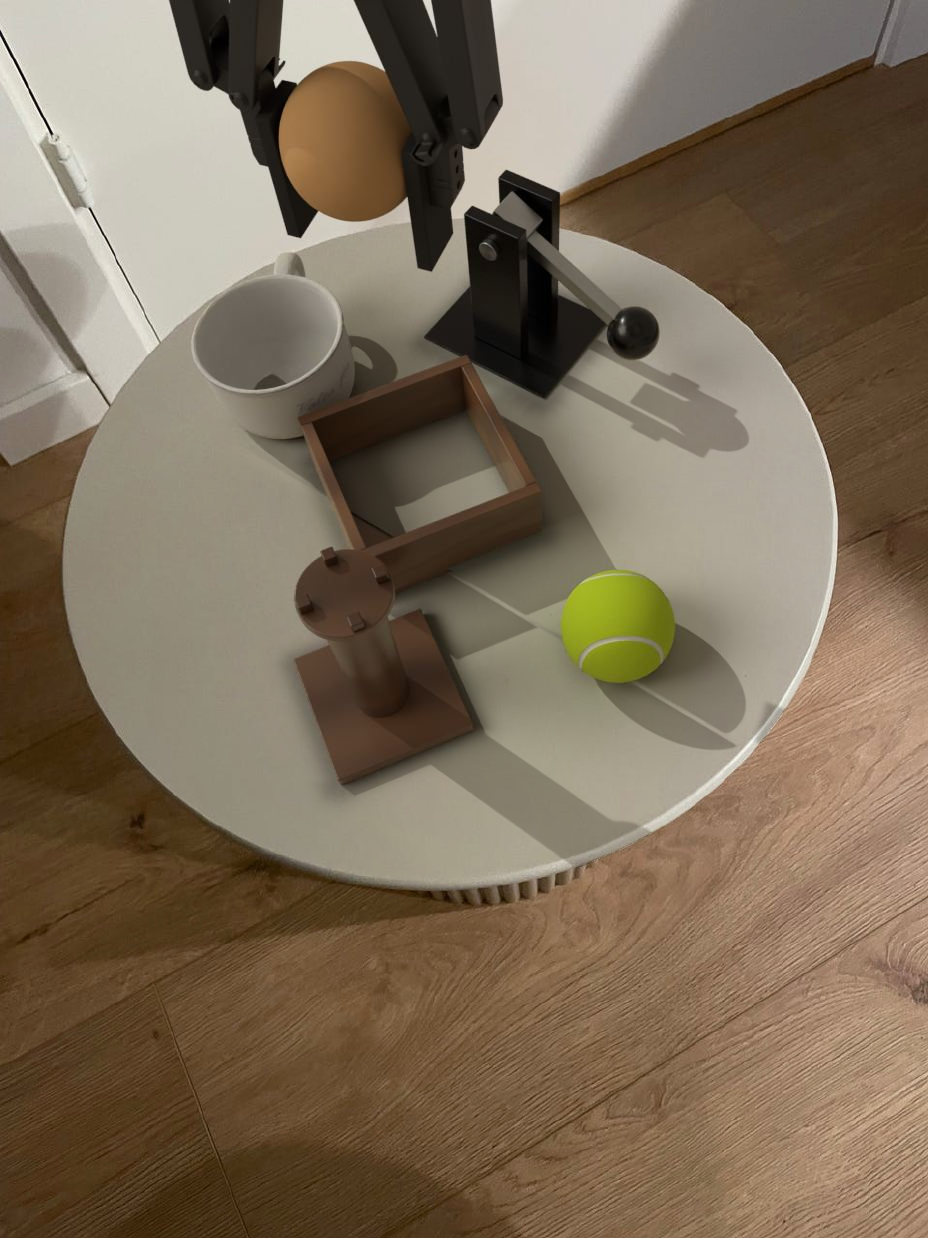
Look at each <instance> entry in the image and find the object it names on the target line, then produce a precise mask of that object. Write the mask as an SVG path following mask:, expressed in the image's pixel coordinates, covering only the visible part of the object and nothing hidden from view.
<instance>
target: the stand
mask: <svg viewBox="0 0 928 1238" xmlns="http://www.w3.org/2000/svg"><path fill="white" fill-rule="evenodd" d="M320 555H321V556H318V557H317V558H316V559H314V560H313V561H311V562H310V563H309V564H308V565H307V566H306V567H305V569H304V570H303V571H302V573H301V574H300V576H299V577H298V580H297V581H296V583H295V584H296V585H295V588H294V594H293V598H294V599H293V601H294V607H295V610H296V613H297V615H298V618H299V620H300V621H301V623H302V624H303V626H304V627H305V628H306V629H307V630H308V631H309V632H311V633H312V634H313V635H314V636H316V637H318V638H321V639H323V640H326V641H327V644H328V645H326V646H323V647H321V648H320V647H319V648H318V649H315V650H313V651H310V652H308V653H306V654H303V655H300V656H298V657H295V658H293V664H294V666H295V669H296V671H297V674H298V677H299V679H300V682H301V684H302V688H303V690H304V694H305V695H306V698H307V701H308V704H309V707H310V709H311V712H312V714H313V717H314V721H315V723H316V725H317V729H318V731H319V734H320V736H321V738H322V742H323V745H324V748H325V750H326V753H327V755H328V759H329V761H330V764H331V767H332V769H333V771H334V774H335V777H336V781H337V782H338V784H339V785H340V786H343V785H345V784H347V783H350V782H353V781H355V780H358V779H360V778H362V777H364V776H367V775H369V774H372V773H374V772H377V771H380V770H381V769H384V768H386V767H389V766H391V765H394V764H397V763H398V762H401V761H403V760H405V759H408V758H410V757H412V756H415V755H418V754H420V753H422V752H425V751H427V750H429V749H432V748H434V747H437V746H440V745H441V744H444V743H446V742H449V741H451V740H453V739H456V738H458V737H461V736H463V735H466V734H468V733H471V732H473V731H474V730H475V729H474V724H473V722H472V720H471V717H470V715H469V713H468V710H467V708H466V705H465V704H464V701H463V699H462V697H461V695H460V692H459V690H458V688H457V686H456V683H455V681H454V679H453V677H452V675H451V672H450V670H449V668H448V666H447V663H446V661H445V659H444V657H443V655H442V652H441V650H440V648H439V646H438V643H437V641H436V639H435V637H434V635H433V632H432V630H431V628H430V625H429V623H428V621H427V618H426V617H425V613H424V612H423V610H422V609H421V608H419V609H416V610H414V611H410V612H408V613H406V614H403V615H400V616H397V617H395V618H393V619H391V620H389V616H390V615H391V612H392V609H393V607H394V604H395V599H396V594H395V589H394V584H393V580H392V577H391V574H390V572H389V570H388V569H387V567H386V566H385V565H384V564H383V563H382V562H381V561H380V560H379V559H378V558H376V557H375V556H373V555H371V554H369V553H367V552H364V551H360V550H354V549H349V548H344V549H337V550H335V549H334V547H333V546H328V547H327V548H324V549H321V550H320Z"/></svg>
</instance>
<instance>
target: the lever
mask: <svg viewBox="0 0 928 1238" xmlns="http://www.w3.org/2000/svg"><path fill="white" fill-rule="evenodd" d="M491 214H493V215H495V216H497V217H499V218H501V219H504V220H506V221H508V222H510V223H513V224H515V225H517V226H519V227H522V228H524V229H526V232H527V253H528V254H529V255H531V256H532V257H533V258H534V259H535V260H536V261H537V262H538V263H539V264H540V265H542V266H543V267H544V268H545V269H546V270H547V271H548V272H549V273H550V274H552V275H553V276H554V277H555V278H556V279H557V280H558V283H560V284H562V286H564V288H566V289H567V290H568V291H569V292H570V293H571V294H572V295H573V296H575V297H576V298H577V299H578V300H579V301H580V302H581V303H582V304H584V306H585V307H586V308H588V309H590V310H591V311H593V312H594V313H595V314H596V315H597V316H598V317H599V318H600V319H601V320H602V321H604V322H605V323H606V324H605V325H607V330H606V341H607V343H608V347H609V349H610V350H611V351H612V352H613V354H614V355H616V357H618V358H620V359H622V360H626V361H632V362H633V361H640V360H642V359H644V358H646V357H648V356H649V355H650V354H651V353H652V352H653V351H654V350H655V348H656V347H657V345H658V343H659V339H660V334H661V330H660V325H659V324H660V323H659V322H658V319H657V318H656V316H655V315H654V313H652V312H651V311H650V310H649V309H647V308H645V307H642V306H638V305H633V306H627V307H624V308H622V307H621V306H620V305H619V304H617V303H616V302H615V300H613V299H612V298H611V297H610V296H609V295H608V294H606V293H605V292H604V291H603V290H602V289H601V288H600V287H599V286H598V285H597V284H595V283H594V282H593V281H592V280H591V279H590V278H589V277H588V276H587V275H585V273H583V272H582V271H581V270H580V269H579V268H578V267H577V266H575V264H573V262H571V261H570V260H569V259H568V258H567V257H565V255H563V254H562V253H561V252H560V250H559V251H558V250H557V249H556V248H554V247H553V246H552V245H551V244H550V243H549V242H548V241H547V240H546V239H545V238H543V237H542V236H541V235H540V234H539V233H538V232H537V231H536V230H537V228H538V227H539V225H540V224H541V222H542V221H543V219H542V218H541V217H540V216H539V215H538V214H537V213H536V212H535V211H534V210H533V209H532V208H530V207H529V206H528V205H527V204H526V203H525V202H524V201H523V200H522V199H521V198H519V197H518V196H517V195H516V194H515V193H514V192H513V191H512V192H510V194H509V195H508V196H507V197H506V198H505V199H504V200H503V201H502V202H501V203H500V204H499V203H498V205H497V206H496V207H495V208H494V209H493V211H492V213H491Z"/></svg>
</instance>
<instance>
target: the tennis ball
mask: <svg viewBox="0 0 928 1238" xmlns="http://www.w3.org/2000/svg"><path fill="white" fill-rule="evenodd" d="M675 633H676V620H675V614H674V609H673V608H672V605H671V602H670V600H669V599H668V596H667V595H666V594H665V592H664V591H663V590H662V588H661V587H660V586H659V585H658V584H657V583H656V582H655V581H653V580H651V579H650V578H649V577H647V576H645V575H644V574H642V573H639V572H635V571H631V570H627V569H609V570H604V571H600V572H597V573H595V574H592V575H590V576H589V577H587V578H585V579H584V580H582V581H581V582H580V583H579V584H577V585H576V586H575V588H574V589H573V590H572V592H571V593H570V594H569V596H568V597H567V599H566V602H565V604H564V606H563V609H562V613H561V618H560V634H561V640H562V643H563V646H564V649H565V652H566V653H567V656H568V657H569V659H570V660H571V661H572V663H573V664H574V665H575V666H576V667H577V668H578V669H580V670H581V672H583V673H584V674H586V675H588V676H589V677H592V678H594V679H596V680H599V681H602V682H605V683H606V682H607V683H614V684H621V683H622V684H623V683H629V682H633V681H637V680H639V679H642V678H644V677H646V676H648V675H649V674H651V673H652V672H654V671H655V670H656V669H658V668H659V667H660V665H662V663H663V662H664V661H665V659H666V658H667V657H668V655H669V653H670V651H671V648H672V646H673V643H674V638H675Z"/></svg>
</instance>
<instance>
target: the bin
mask: <svg viewBox="0 0 928 1238" xmlns="http://www.w3.org/2000/svg"><path fill="white" fill-rule="evenodd" d="M462 412H466V414H467V416H468V418H469V419H470V422H471V423H472V425H473V427H474V429H475V431H476V433H477V435H478V437H479V438H480V441H481V442H482V444H483V446H484V449H485V450H486V452H487V454H488V455H489V457H490V460H491V461H492V463H493V465H494V467H495V469H496V470H497V473H498V474H499V476H500V478H501V480H502V482H503V484H504V486H505V488H506V490H507V491H508V493H505V494H503V495H500V496H497V497H494V498H492V499H489V500H487V501H483V502H482V503H479V504H476V505H473V506H471V507H469V508H466V509H464V510H461V511H459V512H456V513H454V514H451V515H449V516H446V517H444V518H443V517H442V518H441V519H438V520H435V521H433V522H431V523H427V524H425V525H423V526H420V527H417V528H415V529H412V530H410V531H407V532H405V533H402V534H400V535H397V536H393V535H392V534H390V533H389V532H387V531H385V530H383V529H382V528H380V527H378V526H376V525H374V524H373V523H371V522H369V521H368V520H366V519H365V518H363V517H361V516H359V515H358V514H356V513H354V512H353V511H351V509H350V507H349V505H348V503H347V500H346V497H345V495H344V493H343V491H342V488H341V486H340V483H339V481H338V479H337V477H336V475H335V472H334V470H333V468H332V466H331V463H330V462H331V461H334V460H337V459H340V458H342V457H345V456H347V455H351V454H353V453H355V452H358V451H361V450H363V449H364V450H365V449H366V448H369V447H371V446H375V445H377V444H379V443H382V442H385V441H388V440H391V439H394V438H395V437H398V436H401V435H403V434H406V433H409V432H411V431H414V430H417V429H420V428H422V427H425V426H428V425H430V424H433V423H435V422H438V421H440V420H443V419H446V418H449V417H451V416H454V415H457V414H459V413H462ZM297 418H298V421H299V424H300V427H301V430H302V433H303V436H302V437H303V438H304V442H305V444H306V447H307V450H308V452H309V456H310V458H311V462H312V464H313V466H314V468H315V470H316V473H317V475H318V477H319V480H320V483H321V484H322V487H323V489H324V492H325V494H326V497H327V501H328V502H329V504H330V507H331V509H332V512H333V514H334V516H335V518H336V521H337V524H338V526H339V528H340V530H341V534H342V535H343V538H344V540H345V542H346V544H347V548H348V549H354V550H360V551H364V552H367V553H369V554H371V555H373V556H375V557H376V558H378V559H379V560H380V561H381V562H382V563H383V564H384V565H385V566H386V567H387V569H388V570H389V572H390V574H391V577H392V580H393V584H394V589H395V595H396V594H400V593H401V592H404V591H406V590H409V589H411V588H414V587H417V586H419V585H421V584H424V583H426V582H429V581H431V580H435V579H437V578H439V577H442V576H444V575H447V574H449V573H452V572H453V571H452V570H450V569H449V568H451V567H454V566H456V565H458V564H462V563H464V562H467V561H468V560H471V559H474V558H476V557H479V556H481V555H484V554H486V553H490V552H492V551H494V550H496V549H498V548H502V547H504V546H507V545H509V544H512V543H514V542H517V541H519V540H522V539H525V538H527V537H529V536H532V535H536V534H537V533H539V532H542V530H543V492H542V491H543V490H542V488H541V487H540V485H539V483H538V482H537V480H536V478H535V476H534V475H533V473H532V471H531V469H530V467H529V465H528V464H527V462H526V459H525V458H524V456H523V454H522V452H521V451H520V449H519V446H518V445H517V443H516V441H515V439H514V438H513V436H512V434H511V432H510V430H509V429H508V427H507V425H506V424H505V421H504V419H503V417H502V416H501V414H500V412H499V411H498V409H497V407H496V405H495V404H494V401H493V400H492V398H491V396H490V393H489V392H488V390H487V389H486V387H485V385H484V383H483V382H482V380H481V378H480V376H479V374H478V372H477V370H476V369H475V367H474V365H473V363H472V362H471V361H470V359H469V357H468V355H464V356H461V357H460V356H458V357H456V358H453V359H450V360H448V361H445V362H442V363H440V364H437V365H435V366H432V367H430V368H426V369H424V370H421V371H418V372H415V373H412V374H409V375H407V376H405V377H402V378H400V379H397V380H394V381H391V382H389V383H386V384H383V385H380V386H378V387H374V388H373V389H370V390H367V391H364V392H361V393H359V394H356V395H353V396H351V397H350V396H349V398H348V399H345V400H342V401H340V402H337V403H334V404H331V405H329V406H326V407H323V408H321V409H318V410H315V411H313V412H310V413H307V414H304V415H302V416H299V417H297Z"/></svg>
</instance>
